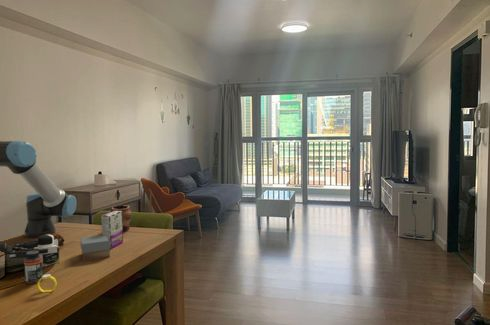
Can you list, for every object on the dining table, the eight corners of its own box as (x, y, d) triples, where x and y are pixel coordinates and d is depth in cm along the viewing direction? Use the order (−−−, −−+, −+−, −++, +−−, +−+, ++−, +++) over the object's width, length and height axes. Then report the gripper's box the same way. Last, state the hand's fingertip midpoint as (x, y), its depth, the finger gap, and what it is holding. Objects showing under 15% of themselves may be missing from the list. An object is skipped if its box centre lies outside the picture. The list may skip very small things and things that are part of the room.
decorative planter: (129, 235, 199) (128, 210, 198) (105, 236, 197) (104, 210, 196) (134, 225, 219) (133, 203, 218) (112, 226, 217) (112, 203, 216)
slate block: (80, 246, 168) (80, 237, 168) (106, 242, 173) (105, 234, 173) (82, 253, 158) (81, 244, 158) (109, 249, 163) (108, 240, 163)
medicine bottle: (43, 267, 152) (41, 239, 151) (34, 263, 155) (32, 236, 154) (59, 261, 158) (58, 234, 157) (50, 259, 161) (49, 232, 160)
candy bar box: (114, 242, 186) (113, 210, 185) (123, 242, 185) (122, 210, 184) (101, 248, 175) (100, 215, 174) (111, 249, 174) (110, 215, 173)
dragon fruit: (66, 252, 175) (40, 257, 174) (68, 238, 182) (43, 243, 180) (60, 241, 170) (32, 246, 168) (62, 227, 176) (36, 232, 174)
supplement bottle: (30, 278, 140) (28, 249, 139) (46, 277, 140) (44, 249, 139) (21, 284, 134) (20, 254, 133) (38, 284, 134) (37, 254, 133)
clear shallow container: (82, 254, 169) (82, 245, 169) (107, 250, 174) (107, 242, 173) (83, 261, 159) (82, 252, 159) (109, 257, 164) (109, 249, 163)
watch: (37, 294, 126) (35, 278, 126) (40, 291, 129) (38, 275, 128) (55, 292, 127) (53, 275, 127) (58, 288, 130) (56, 272, 129)
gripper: (1, 253, 159) (58, 246, 168) (-9, 271, 139) (56, 262, 148) (0, 237, 158) (58, 231, 168) (-11, 252, 138) (56, 244, 147)
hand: (57, 245), depth 158 cm, fingers open, 10 cm apart
